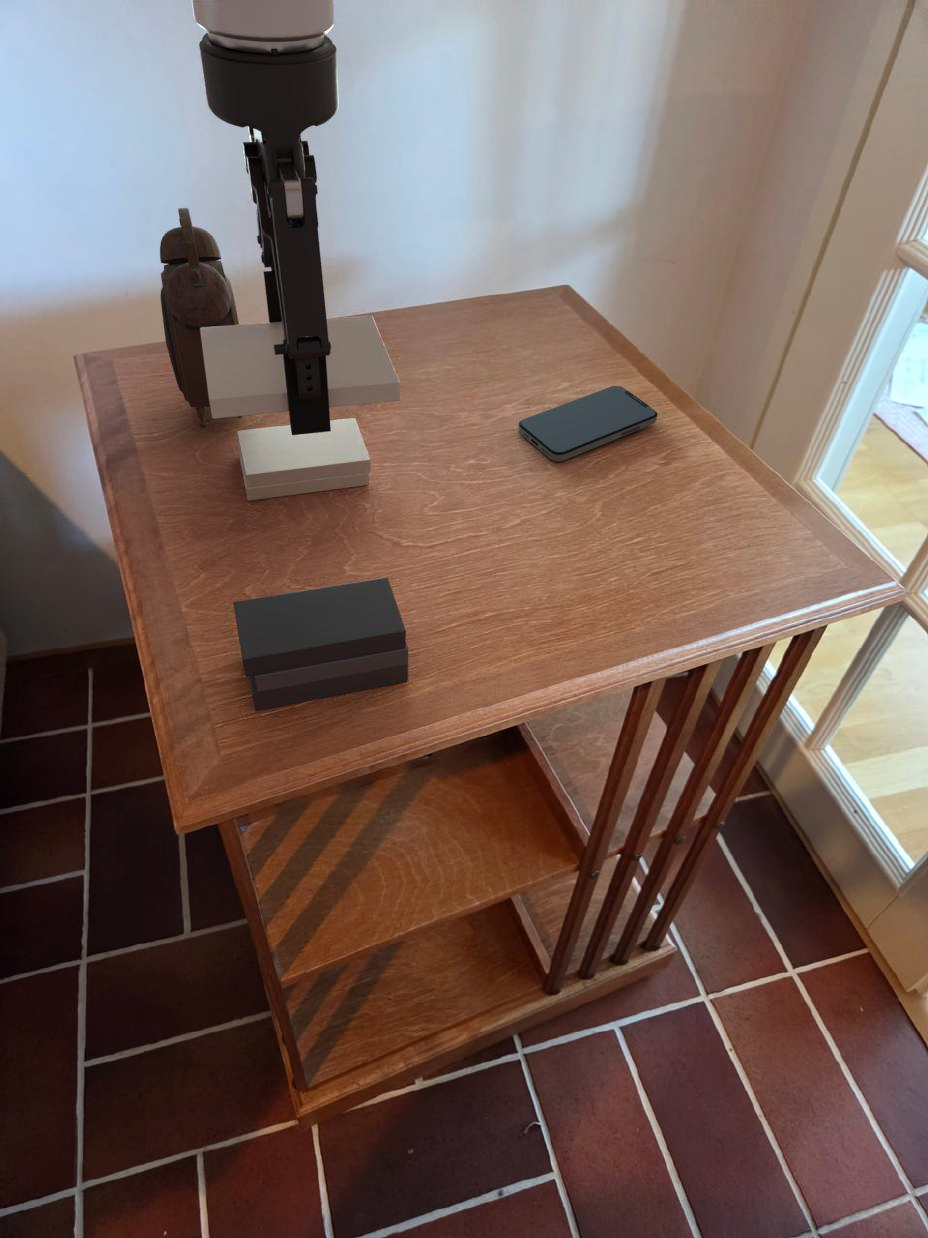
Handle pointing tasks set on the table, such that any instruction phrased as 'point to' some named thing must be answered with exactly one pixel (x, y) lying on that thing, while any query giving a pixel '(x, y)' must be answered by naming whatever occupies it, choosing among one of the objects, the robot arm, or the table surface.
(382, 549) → the table surface
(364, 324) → the light grey rectangular slab
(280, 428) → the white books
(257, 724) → the table surface
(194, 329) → the alarm clock
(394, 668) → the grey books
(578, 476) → the table surface
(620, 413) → the smartphone
